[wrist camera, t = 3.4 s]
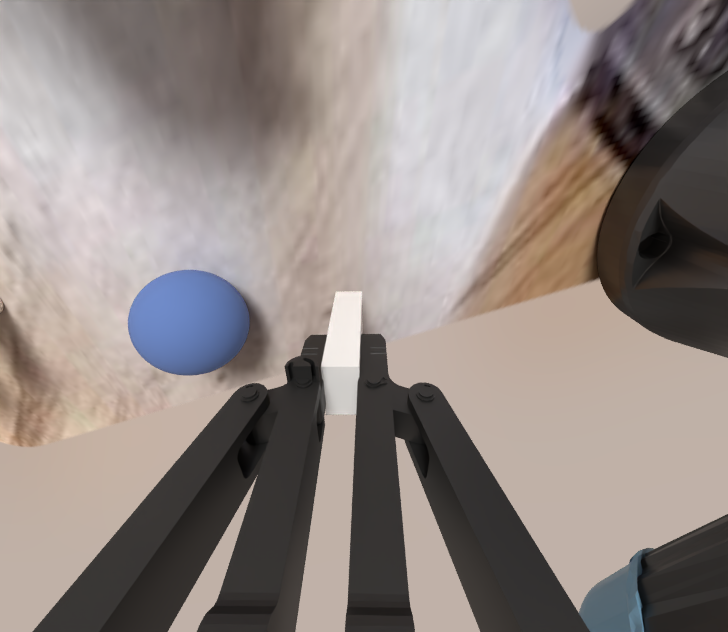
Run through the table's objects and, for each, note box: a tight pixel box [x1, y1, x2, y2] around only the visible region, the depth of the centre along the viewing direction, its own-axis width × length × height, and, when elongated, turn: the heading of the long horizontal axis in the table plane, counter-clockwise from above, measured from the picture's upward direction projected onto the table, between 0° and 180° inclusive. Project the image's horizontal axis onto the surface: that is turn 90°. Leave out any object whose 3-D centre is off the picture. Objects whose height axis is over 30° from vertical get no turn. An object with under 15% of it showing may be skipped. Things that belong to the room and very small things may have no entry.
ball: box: [128, 270, 250, 375], centre depth 17 cm, size 6×6×6 cm
